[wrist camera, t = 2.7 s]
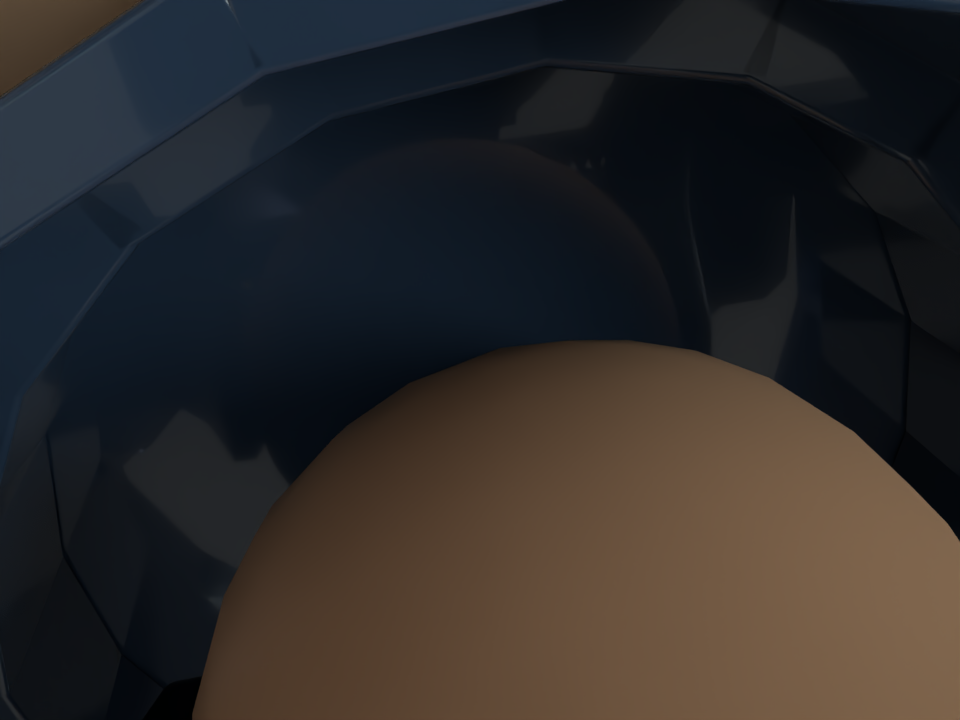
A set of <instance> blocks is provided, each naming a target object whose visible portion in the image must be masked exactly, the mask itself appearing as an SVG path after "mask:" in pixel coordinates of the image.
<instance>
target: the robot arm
mask: <svg viewBox="0 0 960 720" xmlns="http://www.w3.org/2000/svg"><path fill="white" fill-rule="evenodd" d="M201 679H202V676H199V677H194V678H189V679H185V680H180V681H175V682H172V683H170V684H168V685H167V686H166V687H165V688H164V689H163V691H162V692H161V693H160V695H159V696H158V698H157V699H156V701H155V702H154V703H153V705H152V706H151V708H150V709H149V711H148V712H147V714H146V715H145V716H144V718H143V719H142V720H192V713H193V709H194V706H195V702H196V698H197V694H198V691H199V687H200V683H201Z"/></svg>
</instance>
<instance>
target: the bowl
mask: <svg viewBox="0 0 960 720" xmlns="http://www.w3.org/2000/svg"><path fill="white" fill-rule="evenodd" d="M567 340H631V341H638V342H644V343H650V344H657V345H663V346H669V347H676V348H682V349H689V350H695V351H698V352H701V353H704V354H706V355H709V356H712V357H714V358H717V359H720V360H723V361H725V362H728V363H731V364H733V365H736V366H739V367H741V368H744V369H747V370H749V371H752V372H755V373H757V374H760V375H763V376H765V377H768V378H770V379H772V380H773V381H775V382H776V383H778V384H780V385H781V386H783V387H784V388H786V389H787V390H789V391H791V392H792V393H794V394H795V395H797V396H798V397H800V398H802V399H803V400H805V401H806V402H808V403H809V404H811V405H813V406H814V407H816V408H817V409H819V410H820V411H822V412H823V413H825V414H827V415H828V416H830V417H831V418H833V419H834V420H836V421H838V422H839V423H841V424H842V425H844V426H845V427H847V428H849V429H850V430H852V431H853V432H855V433H856V434H857V435H858V436H859V437H860V438H861V439H862V440H863V441H864V442H865V443H866V444H867V445H868V446H869V447H870V448H871V449H873V450H874V451H875V452H876V453H877V454H878V455H879V456H880V457H881V458H882V459H883V460H884V461H885V462H886V463H887V464H888V465H889V466H890V467H891V468H893V469H894V470H895V471H896V472H897V473H898V474H899V475H900V476H901V477H902V478H903V479H904V480H905V481H906V482H907V483H908V484H909V485H910V486H911V487H912V488H913V489H914V490H915V491H916V492H917V493H918V494H919V495H920V496H921V497H922V498H923V499H924V500H925V501H926V502H927V503H928V504H929V505H930V506H931V507H932V508H933V509H934V510H935V511H936V512H937V513H938V514H939V515H940V516H941V517H942V518H943V519H944V520H945V521H946V523H947V524H948V525H949V526H950V528H951V529H952V531H953V532H954V534H955V535H956V537H957V538H958V540H959V541H960V0H141V1H139V2H138V3H136V4H135V5H134V6H132V7H131V8H129V9H128V10H126V11H125V12H123V13H122V14H120V15H119V16H117V17H116V18H114V19H113V20H111V21H110V22H109V23H107V24H106V25H104V26H103V27H101V28H100V29H98V30H97V31H95V32H94V33H92V34H91V35H89V36H88V37H86V38H85V39H84V40H82V41H81V42H79V43H78V44H76V45H75V46H73V47H72V48H70V49H69V50H67V51H66V52H64V53H63V54H61V55H60V56H59V57H57V58H56V59H54V60H53V61H51V62H50V63H48V64H47V65H45V66H44V67H42V68H41V69H39V70H38V71H36V72H35V73H34V74H32V75H31V76H29V77H28V78H26V79H25V80H23V81H22V82H20V83H19V84H17V85H16V86H14V87H13V88H11V89H10V90H9V91H7V92H6V93H4V94H3V95H1V96H0V720H142V719H143V718H144V716H145V715H146V714H147V712H148V711H149V709H150V708H151V706H152V705H153V703H154V702H155V701H156V699H157V698H158V696H159V695H160V693H161V692H162V691H163V689H164V688H165V687H166V686H167V685H168V684H170V683H172V682H175V681H180V680H185V679H189V678H194V677H199V676H203V672H204V668H205V664H206V661H207V657H208V653H209V650H210V646H211V642H212V638H213V635H214V631H215V627H216V623H217V620H218V616H219V612H220V608H221V605H222V601H223V597H224V594H225V593H226V591H227V589H228V587H229V585H230V583H231V581H232V579H233V577H234V575H235V573H236V571H237V569H238V567H239V565H240V563H241V562H242V560H243V558H244V556H245V554H246V552H247V550H248V548H249V546H250V544H251V542H252V540H253V538H254V536H255V535H256V533H257V531H258V529H259V528H260V526H261V524H262V522H263V521H264V519H265V517H266V515H267V514H268V512H269V510H270V508H271V507H272V505H273V504H274V503H275V502H276V501H277V500H278V499H279V498H280V497H281V495H282V494H283V493H284V492H285V491H286V490H287V489H288V488H289V487H290V486H291V484H292V483H293V482H294V481H295V480H296V479H297V478H298V477H299V476H300V475H301V473H302V472H303V471H304V470H305V469H306V468H307V467H308V466H309V465H310V464H311V462H312V461H313V460H314V459H315V458H316V457H317V456H318V455H319V454H320V453H321V451H322V450H323V449H324V448H325V447H326V446H327V445H328V444H329V443H330V442H331V440H332V439H333V438H335V437H336V436H337V435H338V434H339V433H340V432H341V431H342V430H343V429H344V428H345V427H346V426H347V425H349V424H350V423H352V422H353V421H354V420H356V419H357V418H359V417H360V416H362V415H363V414H365V413H366V412H368V411H369V410H371V409H372V408H374V407H375V406H376V405H378V404H379V403H381V402H382V401H384V400H385V399H387V398H388V397H390V396H391V395H393V394H394V393H395V392H397V391H398V390H400V389H401V388H403V387H404V386H406V385H407V384H409V383H411V382H413V381H416V380H418V379H421V378H424V377H426V376H429V375H431V374H434V373H437V372H439V371H442V370H444V369H447V368H449V367H452V366H455V365H457V364H460V363H462V362H465V361H468V360H470V359H473V358H475V357H478V356H481V355H483V354H486V353H488V352H491V351H494V350H496V349H499V348H505V347H514V346H523V345H531V344H540V343H549V342H558V341H567Z"/></svg>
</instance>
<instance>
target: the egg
mask: <svg viewBox="0 0 960 720" xmlns="http://www.w3.org/2000/svg"><path fill="white" fill-rule="evenodd" d="M192 720H960V541H959V540H958V538H957V537H956V535H955V534H954V532H953V531H952V529H951V528H950V526H949V525H948V524H947V523H946V521H945V520H944V519H943V518H942V517H941V516H940V515H939V514H938V513H937V512H936V511H935V510H934V509H933V508H932V507H931V506H930V505H929V504H928V503H927V502H926V501H925V500H924V499H923V498H922V497H921V496H920V495H919V494H918V493H917V492H916V491H915V490H914V489H913V488H912V487H911V486H910V485H909V484H908V483H907V482H906V481H905V480H904V479H903V478H902V477H901V476H900V475H899V474H898V473H897V472H896V471H895V470H894V469H893V468H891V467H890V466H889V465H888V464H887V463H886V462H885V461H884V460H883V459H882V458H881V457H880V456H879V455H878V454H877V453H876V452H875V451H874V450H873V449H871V448H870V447H869V446H868V445H867V444H866V443H865V442H864V441H863V440H862V439H861V438H860V437H859V436H858V435H857V434H856V433H855V432H853V431H852V430H850V429H849V428H847V427H845V426H844V425H842V424H841V423H839V422H838V421H836V420H834V419H833V418H831V417H830V416H828V415H827V414H825V413H823V412H822V411H820V410H819V409H817V408H816V407H814V406H813V405H811V404H809V403H808V402H806V401H805V400H803V399H802V398H800V397H798V396H797V395H795V394H794V393H792V392H791V391H789V390H787V389H786V388H784V387H783V386H781V385H780V384H778V383H776V382H775V381H773V380H772V379H770V378H768V377H765V376H763V375H760V374H757V373H755V372H752V371H749V370H747V369H744V368H741V367H739V366H736V365H733V364H731V363H728V362H725V361H723V360H720V359H717V358H714V357H712V356H709V355H706V354H704V353H701V352H698V351H695V350H689V349H682V348H676V347H669V346H663V345H657V344H650V343H644V342H638V341H631V340H567V341H558V342H549V343H540V344H531V345H523V346H514V347H505V348H499V349H496V350H494V351H491V352H488V353H486V354H483V355H481V356H478V357H475V358H473V359H470V360H468V361H465V362H462V363H460V364H457V365H455V366H452V367H449V368H447V369H444V370H442V371H439V372H437V373H434V374H431V375H429V376H426V377H424V378H421V379H418V380H416V381H413V382H411V383H409V384H407V385H406V386H404V387H403V388H401V389H400V390H398V391H397V392H395V393H394V394H393V395H391V396H390V397H388V398H387V399H385V400H384V401H382V402H381V403H379V404H378V405H376V406H375V407H374V408H372V409H371V410H369V411H368V412H366V413H365V414H363V415H362V416H360V417H359V418H357V419H356V420H354V421H353V422H352V423H350V424H349V425H347V426H346V427H345V428H344V429H343V430H342V431H341V432H340V433H339V434H338V435H337V436H336V437H335V438H333V439H332V440H331V442H330V443H329V444H328V445H327V446H326V447H325V448H324V449H323V450H322V451H321V453H320V454H319V455H318V456H317V457H316V458H315V459H314V460H313V461H312V462H311V464H310V465H309V466H308V467H307V468H306V469H305V470H304V471H303V472H302V473H301V475H300V476H299V477H298V478H297V479H296V480H295V481H294V482H293V483H292V484H291V486H290V487H289V488H288V489H287V490H286V491H285V492H284V493H283V494H282V495H281V497H280V498H279V499H278V500H277V501H276V502H275V503H274V504H273V505H272V507H271V508H270V510H269V512H268V514H267V515H266V517H265V519H264V521H263V522H262V524H261V526H260V528H259V529H258V531H257V533H256V535H255V536H254V538H253V540H252V542H251V544H250V546H249V548H248V550H247V552H246V554H245V556H244V558H243V560H242V562H241V563H240V565H239V567H238V569H237V571H236V573H235V575H234V577H233V579H232V581H231V583H230V585H229V587H228V589H227V591H226V593H225V594H224V597H223V601H222V605H221V608H220V612H219V616H218V620H217V623H216V627H215V631H214V635H213V638H212V642H211V646H210V650H209V653H208V657H207V661H206V664H205V668H204V672H203V676H202V679H201V683H200V687H199V691H198V694H197V698H196V702H195V706H194V709H193V713H192Z"/></svg>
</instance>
